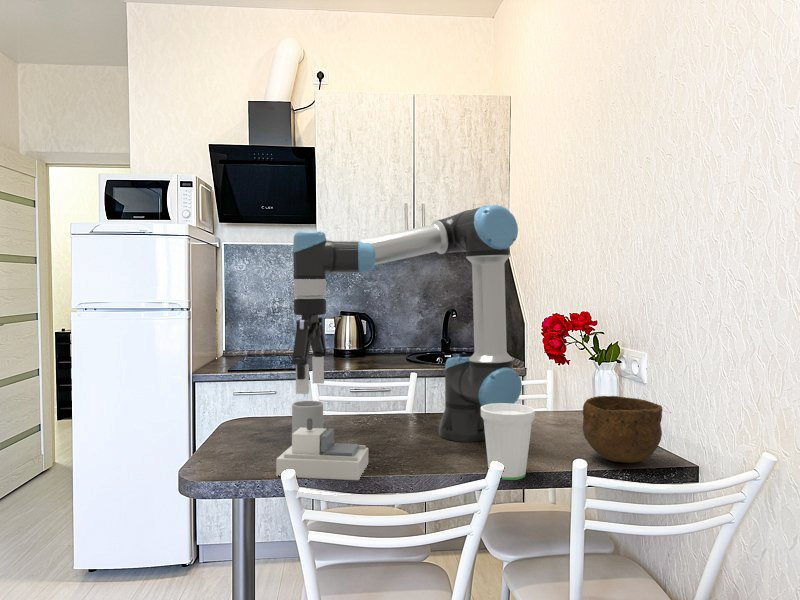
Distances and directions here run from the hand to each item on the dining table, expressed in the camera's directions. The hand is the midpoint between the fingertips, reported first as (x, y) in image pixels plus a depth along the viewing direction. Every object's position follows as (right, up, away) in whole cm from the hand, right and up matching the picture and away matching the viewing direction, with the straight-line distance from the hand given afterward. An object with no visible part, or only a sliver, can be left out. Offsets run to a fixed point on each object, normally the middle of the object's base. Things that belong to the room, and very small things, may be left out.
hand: (310, 388), depth 136 cm
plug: (0, -19, 0) cm, 19 cm away
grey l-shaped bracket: (+7, -15, -1) cm, 17 cm away
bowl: (+76, -20, +8) cm, 79 cm away
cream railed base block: (+3, -19, 0) cm, 19 cm away
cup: (+46, -20, -2) cm, 50 cm away
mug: (-4, -19, +25) cm, 32 cm away
